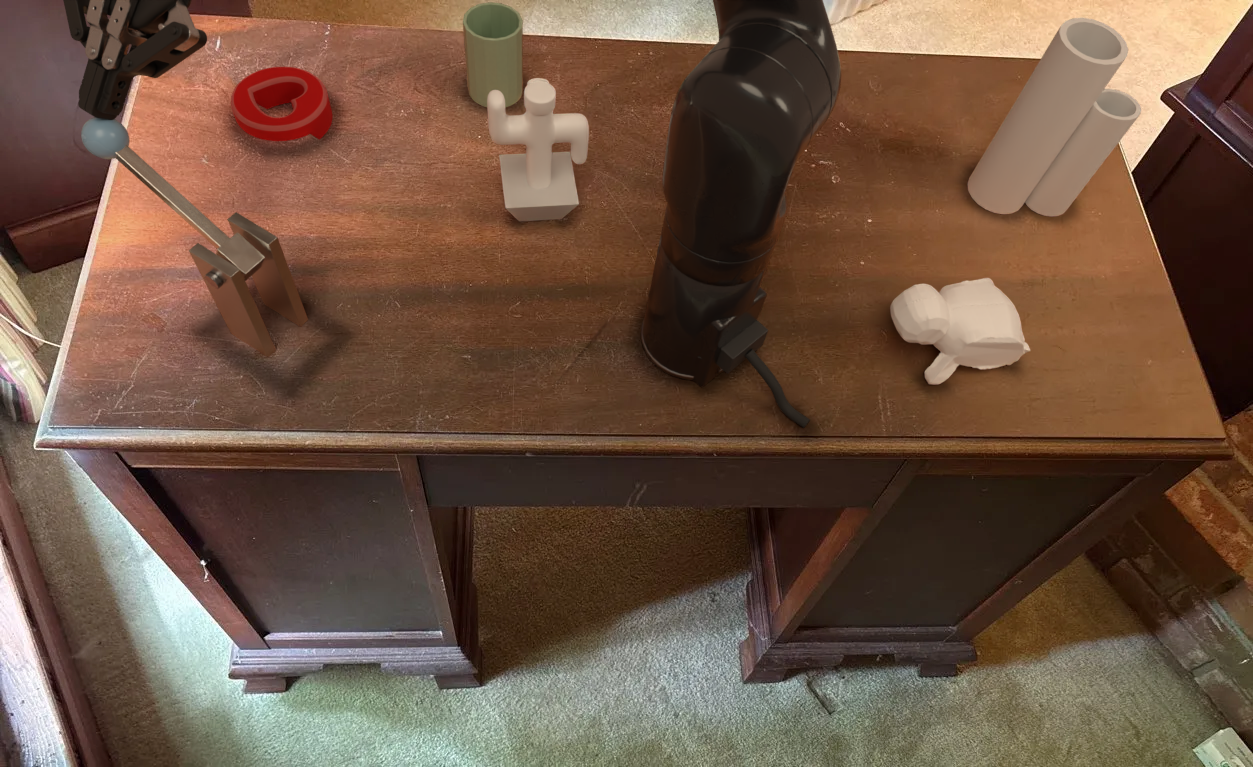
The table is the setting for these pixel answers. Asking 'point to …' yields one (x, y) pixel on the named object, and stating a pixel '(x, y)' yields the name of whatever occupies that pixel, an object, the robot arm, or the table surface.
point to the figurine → (538, 153)
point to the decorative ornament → (280, 89)
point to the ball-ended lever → (168, 192)
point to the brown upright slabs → (236, 295)
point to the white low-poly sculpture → (960, 325)
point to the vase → (1058, 124)
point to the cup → (493, 52)
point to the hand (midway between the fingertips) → (96, 114)
